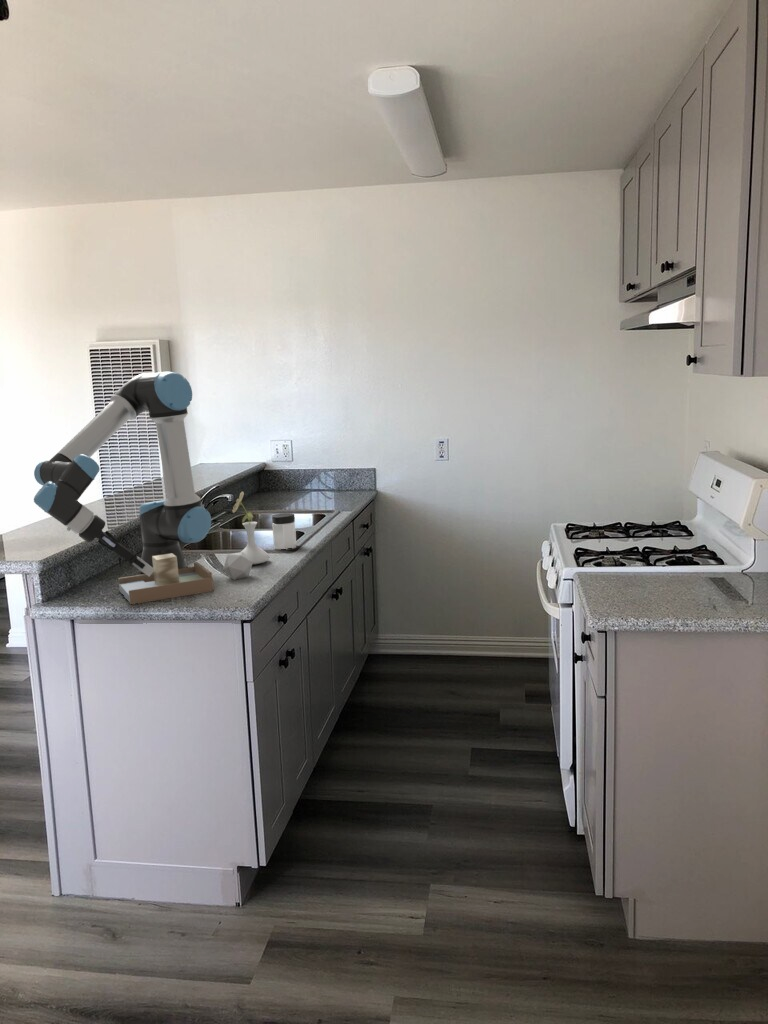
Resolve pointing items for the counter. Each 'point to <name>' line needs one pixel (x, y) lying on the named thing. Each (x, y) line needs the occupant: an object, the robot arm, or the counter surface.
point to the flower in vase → (251, 537)
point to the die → (237, 565)
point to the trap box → (148, 590)
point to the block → (165, 569)
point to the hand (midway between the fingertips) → (151, 572)
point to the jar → (284, 530)
